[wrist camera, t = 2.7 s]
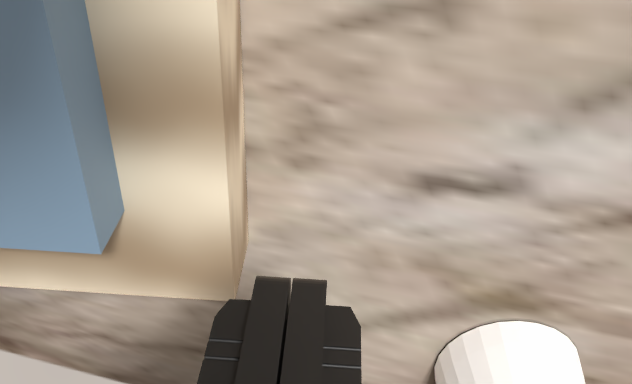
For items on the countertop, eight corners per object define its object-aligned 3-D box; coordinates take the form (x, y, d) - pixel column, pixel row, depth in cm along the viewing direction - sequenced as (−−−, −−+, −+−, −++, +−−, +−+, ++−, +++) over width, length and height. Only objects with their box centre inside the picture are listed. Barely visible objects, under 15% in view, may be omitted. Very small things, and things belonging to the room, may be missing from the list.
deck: (-162, -240, 18) (-278, -245, 14) (231, -221, 17) (203, -222, 14) (0, 225, 28) (-46, 283, 25) (248, 240, 28) (234, 301, 25)
